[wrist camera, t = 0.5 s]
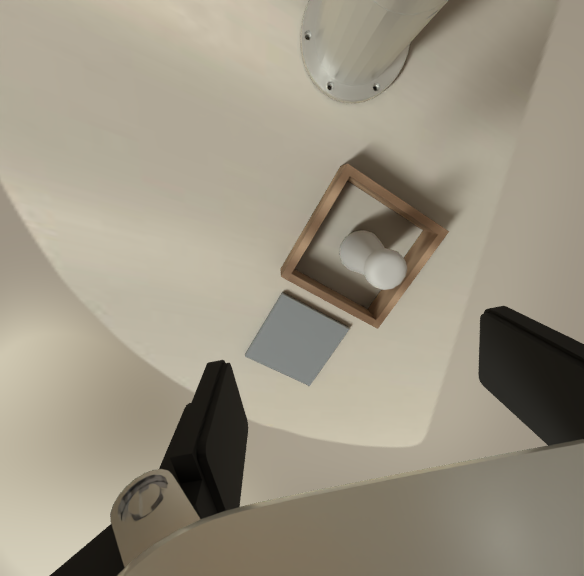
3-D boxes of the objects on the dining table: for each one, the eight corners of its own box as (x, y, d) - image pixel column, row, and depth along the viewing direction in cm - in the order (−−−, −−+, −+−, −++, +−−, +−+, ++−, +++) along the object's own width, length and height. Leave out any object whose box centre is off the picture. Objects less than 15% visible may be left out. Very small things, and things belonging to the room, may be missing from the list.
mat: (282, 292, 43) (282, 293, 42) (348, 326, 45) (349, 329, 45) (245, 353, 46) (244, 356, 45) (309, 382, 48) (309, 386, 48)
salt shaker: (382, 235, 41) (427, 254, 29) (367, 272, 43) (404, 305, 30) (344, 222, 40) (374, 237, 28) (330, 261, 42) (353, 290, 29)
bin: (340, 166, 38) (347, 163, 34) (433, 227, 41) (448, 231, 37) (280, 268, 42) (280, 276, 38) (369, 317, 45) (377, 328, 41)
